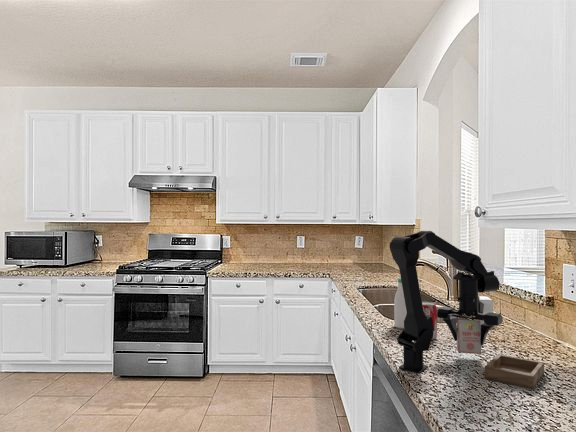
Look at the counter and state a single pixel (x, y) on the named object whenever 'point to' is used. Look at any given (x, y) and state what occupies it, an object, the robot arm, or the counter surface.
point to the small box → (486, 306)
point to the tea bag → (469, 336)
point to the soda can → (431, 314)
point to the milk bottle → (399, 307)
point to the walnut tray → (514, 371)
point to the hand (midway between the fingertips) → (468, 342)
